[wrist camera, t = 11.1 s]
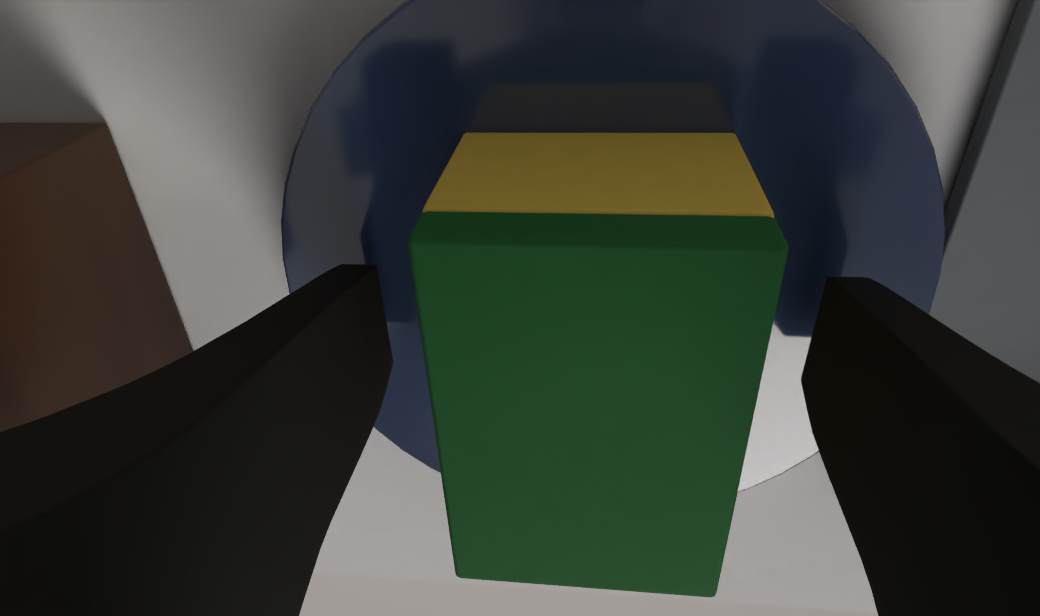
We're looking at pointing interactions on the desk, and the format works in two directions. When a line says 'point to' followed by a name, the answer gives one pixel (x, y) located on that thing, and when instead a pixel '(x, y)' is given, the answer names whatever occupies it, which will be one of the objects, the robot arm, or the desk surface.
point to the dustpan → (999, 212)
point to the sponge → (595, 352)
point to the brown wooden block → (74, 274)
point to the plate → (624, 109)
